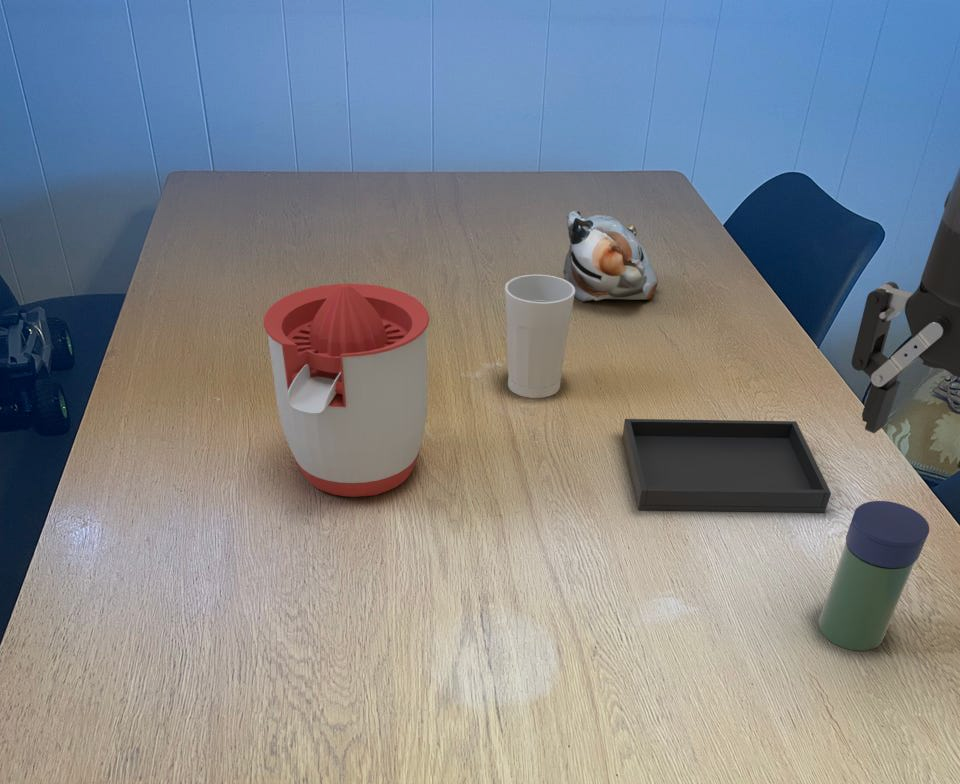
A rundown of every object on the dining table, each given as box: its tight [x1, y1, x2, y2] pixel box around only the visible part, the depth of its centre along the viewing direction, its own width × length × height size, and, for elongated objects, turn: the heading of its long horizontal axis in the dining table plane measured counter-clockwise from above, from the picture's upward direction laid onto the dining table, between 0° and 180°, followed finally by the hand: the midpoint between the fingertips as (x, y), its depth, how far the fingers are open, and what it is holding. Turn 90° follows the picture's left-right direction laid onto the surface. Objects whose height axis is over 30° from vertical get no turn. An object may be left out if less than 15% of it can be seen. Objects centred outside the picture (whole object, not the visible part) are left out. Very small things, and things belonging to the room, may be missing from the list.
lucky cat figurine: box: [563, 209, 659, 303], centre depth 133 cm, size 15×12×14 cm
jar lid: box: [845, 500, 930, 568], centre depth 78 cm, size 6×6×2 cm
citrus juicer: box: [263, 283, 430, 498], centre depth 95 cm, size 16×17×20 cm
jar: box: [818, 542, 916, 652], centre depth 82 cm, size 6×6×11 cm
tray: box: [621, 418, 832, 513], centre depth 103 cm, size 19×14×2 cm
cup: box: [504, 274, 575, 399], centre depth 113 cm, size 8×8×12 cm
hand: (919, 446), depth 73 cm, fingers open, 7 cm apart
